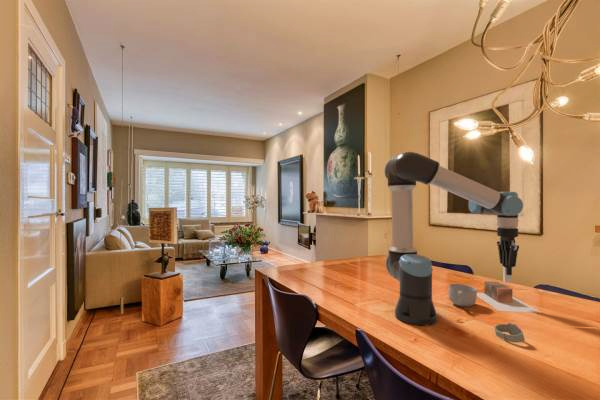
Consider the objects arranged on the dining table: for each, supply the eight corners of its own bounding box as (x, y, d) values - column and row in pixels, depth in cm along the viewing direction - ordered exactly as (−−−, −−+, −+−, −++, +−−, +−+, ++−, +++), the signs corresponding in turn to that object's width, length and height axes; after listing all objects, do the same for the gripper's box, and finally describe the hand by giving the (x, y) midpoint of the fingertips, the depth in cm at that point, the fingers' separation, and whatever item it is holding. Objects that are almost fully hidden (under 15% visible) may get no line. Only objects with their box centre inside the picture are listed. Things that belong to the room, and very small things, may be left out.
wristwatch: (529, 344, 95) (529, 328, 95) (513, 346, 94) (513, 330, 94) (504, 332, 104) (504, 317, 104) (489, 333, 103) (489, 319, 103)
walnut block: (512, 289, 132) (497, 281, 144) (497, 288, 132) (484, 281, 144) (512, 302, 132) (497, 294, 144) (497, 302, 132) (484, 294, 144)
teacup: (453, 299, 138) (453, 281, 138) (480, 305, 131) (480, 286, 130) (442, 306, 128) (442, 287, 128) (470, 313, 121) (470, 293, 121)
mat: (542, 314, 120) (542, 312, 120) (498, 312, 122) (498, 310, 122) (508, 295, 144) (508, 293, 144) (472, 293, 146) (472, 292, 146)
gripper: (526, 228, 123) (526, 286, 123) (508, 226, 136) (508, 278, 136) (506, 228, 124) (506, 285, 124) (490, 225, 137) (490, 277, 137)
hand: (507, 281), depth 130 cm, fingers closed
